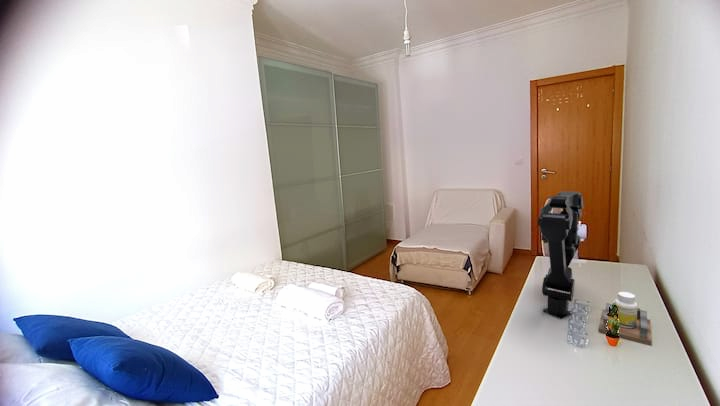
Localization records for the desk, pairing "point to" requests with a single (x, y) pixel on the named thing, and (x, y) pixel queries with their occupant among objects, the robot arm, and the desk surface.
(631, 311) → the supplement bottle
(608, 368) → the desk surface
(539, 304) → the desk surface
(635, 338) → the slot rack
